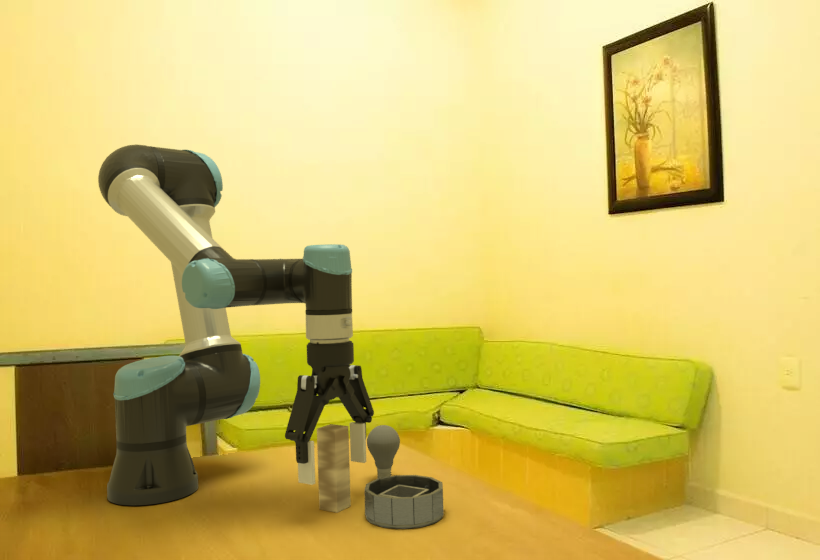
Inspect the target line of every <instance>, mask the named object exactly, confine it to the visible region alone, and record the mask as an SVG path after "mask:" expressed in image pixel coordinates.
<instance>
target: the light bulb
mask: <svg viewBox="0 0 820 560" xmlns="http://www.w3.org/2000/svg"><path fill="white" fill-rule="evenodd" d="M400 446H401V439H400V436H399V434H398V432H397V430H396V429H394V427H392V426H390V425H386V424H381V425H377V426H375V427H374V428H373V429H371V430H370V432H369V433H368V435H367V437H366V448H367V450H368V451H369V453H370V455H371V456H372V458H373V460H374V465H375V467H376V474H377V476H376V477H377V478H376V479H378V478H383V477H389V476H392V468H393V465H394V459H395V457H396V455H397V452H398V450H399V449H400Z"/></svg>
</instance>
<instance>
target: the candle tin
mask: <svg viewBox="0 0 820 560" xmlns="http://www.w3.org/2000/svg"><path fill="white" fill-rule="evenodd" d="M443 487H444V486H443V481H441V480H438V479H436V478H434V477H431V476H425V475H418V474H399V475H397V474H396V475H391V476H389V477H383V478H376V479H374V480H371V481H370V482H367V483H366V484H365V486H364V492H363V493H364V516H365V518H366V521H368V522H369V523H370V524H372V525H374V526H377V527H380V528H384V529H392V530H409V529H410V530H411V529H419V528H423V527H428V526H431V525H435V524H436V523H437V522H440V521H441V520H442V519H443V517H444V488H443Z"/></svg>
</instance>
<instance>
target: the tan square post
mask: <svg viewBox="0 0 820 560" xmlns="http://www.w3.org/2000/svg"><path fill="white" fill-rule="evenodd" d="M349 440H350V431H349V425H344V424H343V425H341V424H333V423H331V424H327V425H324V426H321V427H318V428H316V444H317V471H318V472H317V474H318V476H317V478H318V481H317V482H318V508H319V510H322V511H326V512H332V513H340V512H341V511H344V510H345V509H348V508H349V507H351V505H352V504H351V502H352V501H351V499H352V498H351V474H350V473H351V471H350V441H349Z"/></svg>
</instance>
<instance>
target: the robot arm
mask: <svg viewBox="0 0 820 560" xmlns="http://www.w3.org/2000/svg"><path fill="white" fill-rule="evenodd" d="M97 180H98V181H97V182H98V183H97V184H98V189H99V191H100V194H101V196H102V199H104V201H105V202H106V203H107V204H108V206H110V208H111V209H112V210H113V211H114V212H116V213H117V214H118V215H121V216H125V217H128V219H130V220H131V222H132V223H134V225H135V226H136V227H137V228H138V229H139V230H140V231H141V232H142V233H143V234H144V235H145V236H146V237H147V238H148V239H149V240H150V242H151V243H153V245H154V246H155V247H156V248H157V249H158V250H159V251H160V252H161V253H162V254H163V255H164V257H166V258H167V260H169V262H170V264H171V271H172V276H173V281H174V287H175V293H176V298H177V303H178V310H179V316H180V321H181V325H182V326H181V327H182V331H183V337H184V343H185V346H184V348H183V349H182V351H181V352H180V353H179V355H164V356H163V355H162V356H158V357H149V358H145V359H141V360H136V361H134V362H130V363H128V364H127V363H126V364H125V365H123V366H121V367H120V368H119V369H118V370H117V371H116V374H115V376H114V388H113V389H114V391H113V398H114V414H115V434H116V435H115V438H116V440H115V441H116V453H115V454H116V455H115V458H114V460H113V465H112V469H111V471H110V472H111V473H110V476H109V481H108V482H107V487H106V492H107V493H106V495H107V497H106V498H107V500H108V502H110V503H113V504H116V505H121V506H122V505H123V506H147V505H148V506H149V505H155V504H156V505H157V504H163V503H168V502H172V501H176V500H179V499H182V498H185V497H187V496H190V495H192V494H193V493H195V492H196V491H198V489H199V475H198V472H197V470H196V468H195V464H194V461H193V458H192V456H191V453H190V450H189V448H188V445H187V443H188V442H187V427H190V426H194V425H195V426H196V425H199V424H205V423H210V422H213V421H219V420H228V419H232V418H233V417H236V416H239V415H242V414H243V415H244V414H246V413H247V412H248V411H250V410H251V409H252V407H253V406H254V405H255V403H256V400H257V399H258V397H259V393H260V388H261V374H260V369H259V366H258V363H257V362H256V361H254V358H253V356H250V355H249V354H246V353H244V352H243V349H242V344H241V342H240V341H238V340H237V339H236V338H233V337H232V334H231V328H230V323H229V318H228V313H227V308H237V307H249V306H251V307H252V306H267V305H269V306H270V305H283V304H304V305H305V311H304V313H305V338H306V339H307V340H309V342H307V344H306V363H307V365H308V366H309V367H310V368H311V375H304V374H303V375H302V374H301V375H298V377H297V384H296V385H297V386H296V387H297V388H296V393H295V397H294V400H293V404H292V407H291V412H290V416H289V419H288V421H287V425H286V429H285V433H284V438H285V439H286V440H289V441H290V442H292V441H293V442H294V444H295V461H296V463H297V475H298V476H297V477H298V478H297V479H298V484H306V485H309V486H310V485H311V486H313V485H315V484H316V468H315V467H316V466H315V465H316V464H315V462H316V461H315V459H316V458H315V440H311V438H312V436H313V433H314V432H315V429H316V427H317V424H318V423H319V419H320V418H321V416H322V413H323V412H324V411H323V410H324V408H325V406H326V405H328V404H329V402H330V401H331V400H332V401H333V400H334V399H337V398H338V399H339V401H340V402H341V403H342V405H343V406H344V409H345V410H346V411H347V413H348V414H349V416H350V417H351V418H350V419H352V422H349V440H350V441H349V452H350V462H353V463H362V464H365V463H367V424H368V423H372V420H373V417H374V415H375V411H374V407H373V404H372V402H371V399H370V395H369V393H368V390H367V387H366V383H365V381H364V379H363V372H362V371H363V370H362V366H361V365H359V364H358V365H354V364H353V363H354V362H355V350H354V342H353V341H352V340H350V339H351V338H353V336H354V332H353V331H354V330H353V329H354V327H353V325H354V324H353V294H352V293H353V292H352V290H353V289H352V285H353V284H352V282H353V281H352V280H353V279H352V274H353V269H352V260H351V251H350V249H349V246H347V245H345V244H341V243H340V244H338V243H337V244H335V243H334V244H311V245H310V244H309V245H306V246H305V247H304V249H303V256H302V258H272V259H271V258H269V259H268V258H267V259H265V258H262V259H260V258H259V259H253V258H252V259H251V258H250V259H249V258H248V259H244V258H243V259H242V258H241V259H239V258H238V259H237V258H234V257H233V256H232V255H230V253H228V252H227V251H226V250H225V248H223V247H222V246H221V245H220V244H219V243H218V242H217V241H216V240H215V239H214V238H213V233H212V228H211V224H210V223H211V221H210V220H211V219H212V217H213V216H214V215H215V214H216V207H217V206H218V204H219V203H220V201H221V199H222V196H223V195H222V193H221V192H222V191H223V190H224V189H223V186H224V185H223V178H222V174H221V171H220V169H219V167H218V165H217V163H216V162H215V161H214V160H213V158H211V156H208V155H207V154H205V153H201V152H197V151H194V150H191V149H175V148H166V147H159V146H152V145H151V146H149V145H144V144H129V145H124V146H121V147H119V148H117V149H114V151H112V152H111V153H110V154H109V155H108V156H106V158H105V159H104V160H103V161H102V163H101V165H100V168H99V171H98V177H97ZM353 421H354V422H353Z"/></svg>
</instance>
